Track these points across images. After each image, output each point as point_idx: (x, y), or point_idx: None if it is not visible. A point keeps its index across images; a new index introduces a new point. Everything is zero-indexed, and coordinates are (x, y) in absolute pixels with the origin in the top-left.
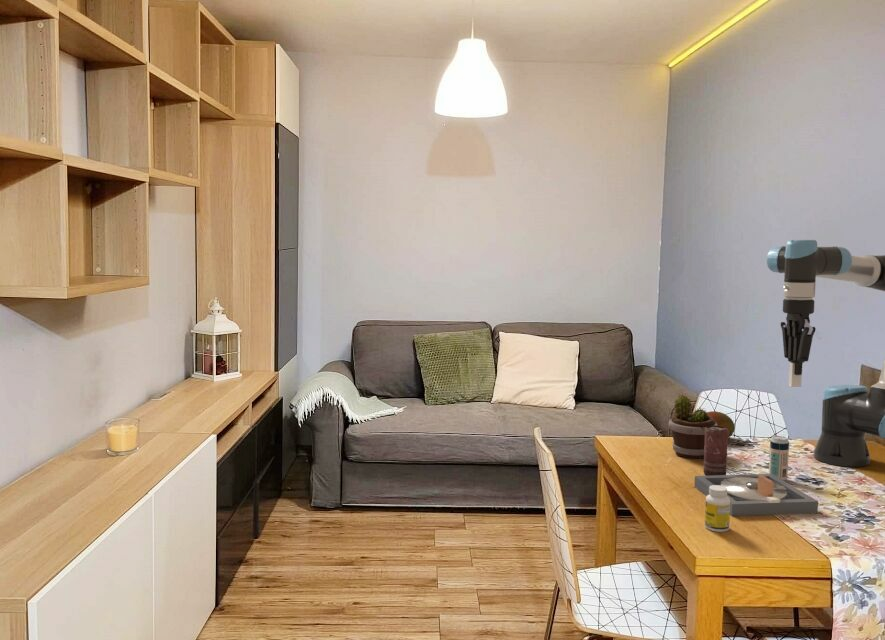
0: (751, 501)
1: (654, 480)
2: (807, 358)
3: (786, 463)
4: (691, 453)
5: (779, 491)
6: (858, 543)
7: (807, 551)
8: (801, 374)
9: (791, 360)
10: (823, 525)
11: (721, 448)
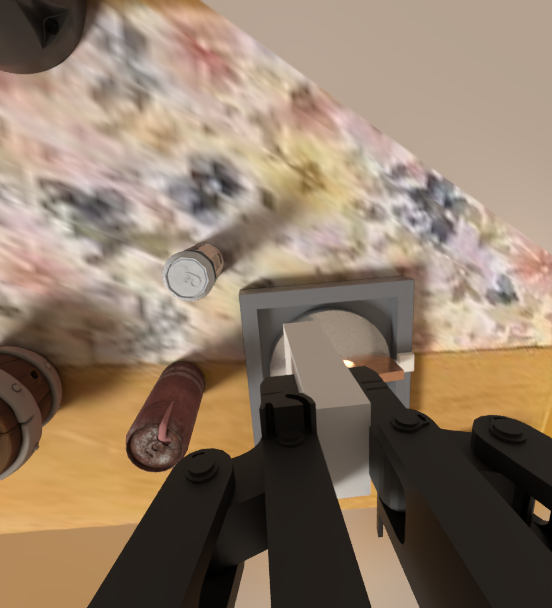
0: (399, 396)
1: None
2: (547, 449)
3: (216, 256)
4: (60, 401)
5: (360, 331)
6: (531, 275)
7: (539, 363)
8: (366, 367)
9: (382, 528)
10: (456, 293)
11: (194, 413)
